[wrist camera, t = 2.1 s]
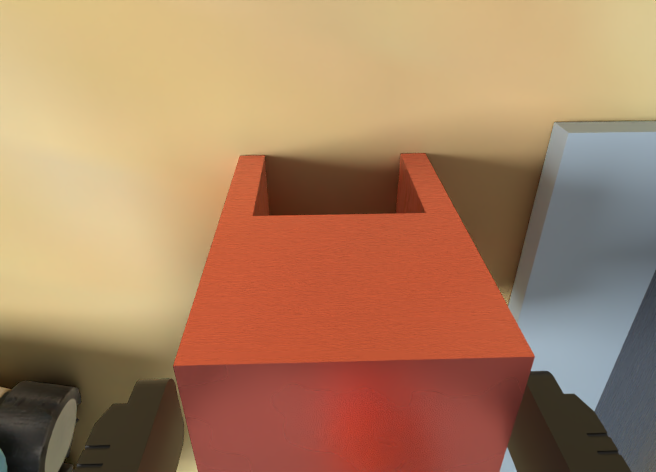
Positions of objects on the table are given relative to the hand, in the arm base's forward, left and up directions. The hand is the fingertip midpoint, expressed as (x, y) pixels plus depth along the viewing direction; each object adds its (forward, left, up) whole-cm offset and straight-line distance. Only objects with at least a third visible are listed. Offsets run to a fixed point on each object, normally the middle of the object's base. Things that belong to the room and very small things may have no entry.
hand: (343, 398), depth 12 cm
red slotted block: (0, 0, -7) cm, 7 cm away
